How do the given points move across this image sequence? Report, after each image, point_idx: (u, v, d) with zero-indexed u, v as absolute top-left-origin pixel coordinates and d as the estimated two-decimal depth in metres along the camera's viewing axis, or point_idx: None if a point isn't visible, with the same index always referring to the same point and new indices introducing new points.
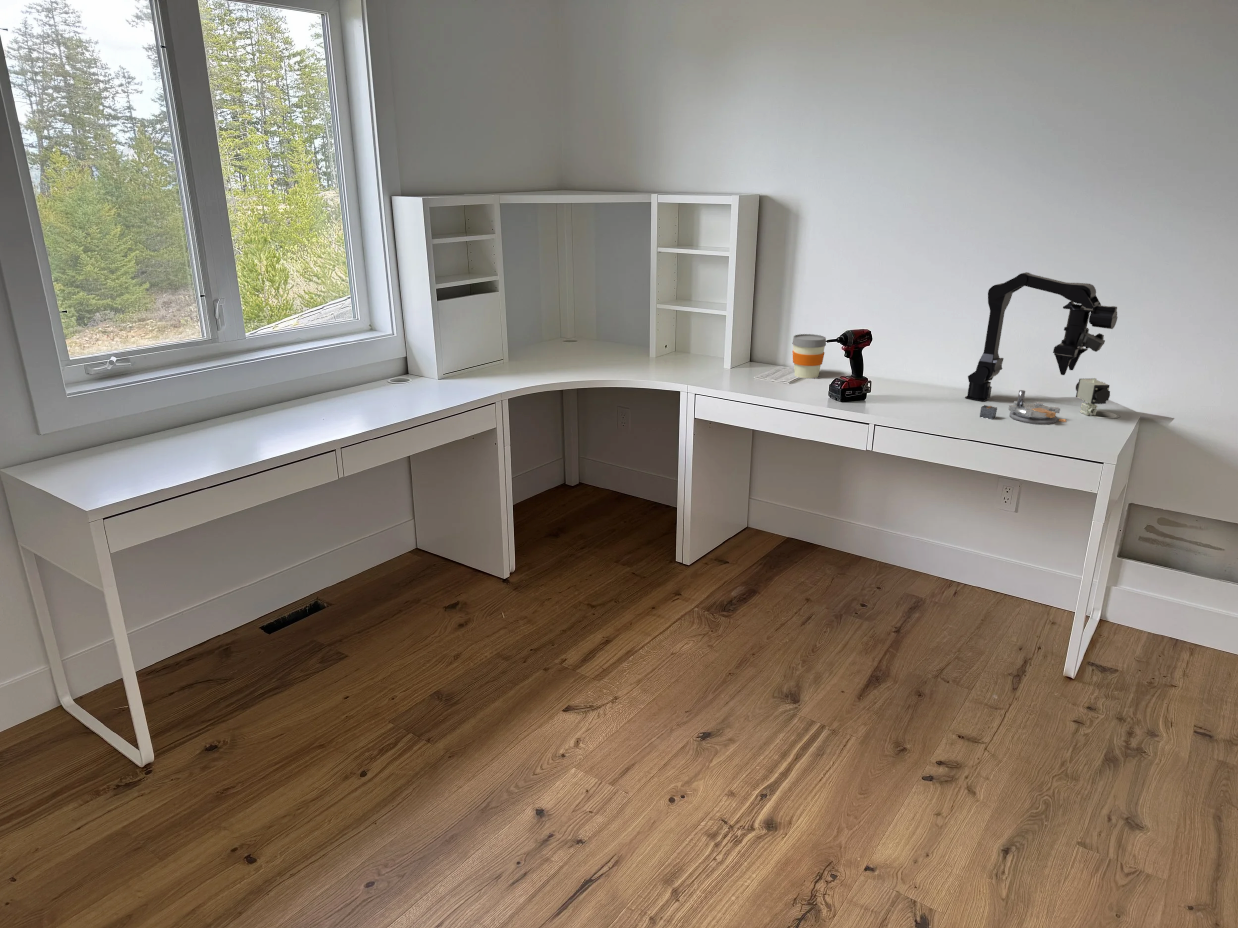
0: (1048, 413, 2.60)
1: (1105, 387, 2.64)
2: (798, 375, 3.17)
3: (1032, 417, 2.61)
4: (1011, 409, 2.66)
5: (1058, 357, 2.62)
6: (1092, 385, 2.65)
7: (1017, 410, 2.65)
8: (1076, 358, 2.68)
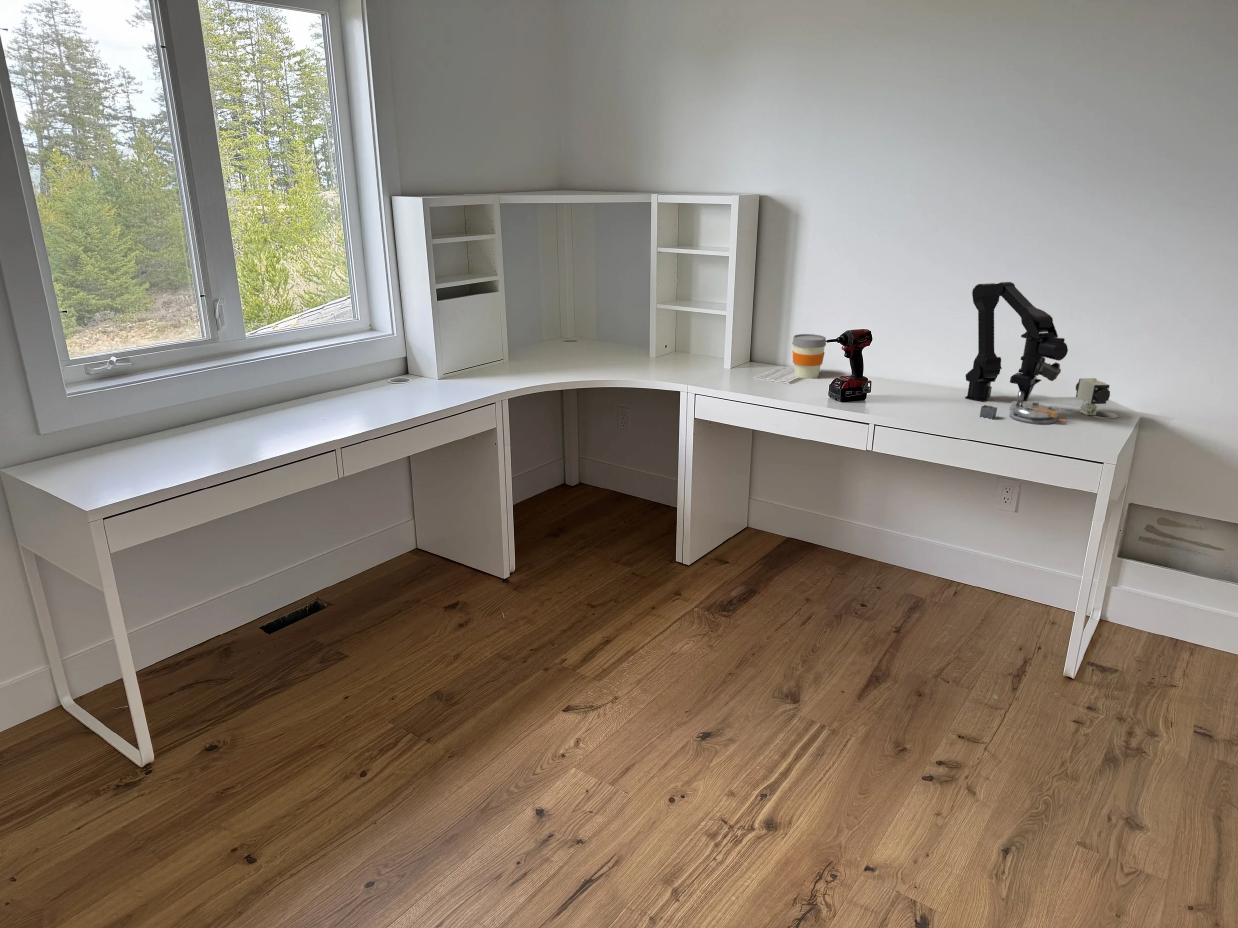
0: (1051, 413, 2.60)
1: (1105, 387, 2.64)
2: (798, 375, 3.17)
3: (1035, 417, 2.61)
4: (1013, 410, 2.65)
5: (1020, 384, 2.67)
6: (1092, 385, 2.65)
7: (1019, 411, 2.64)
8: None
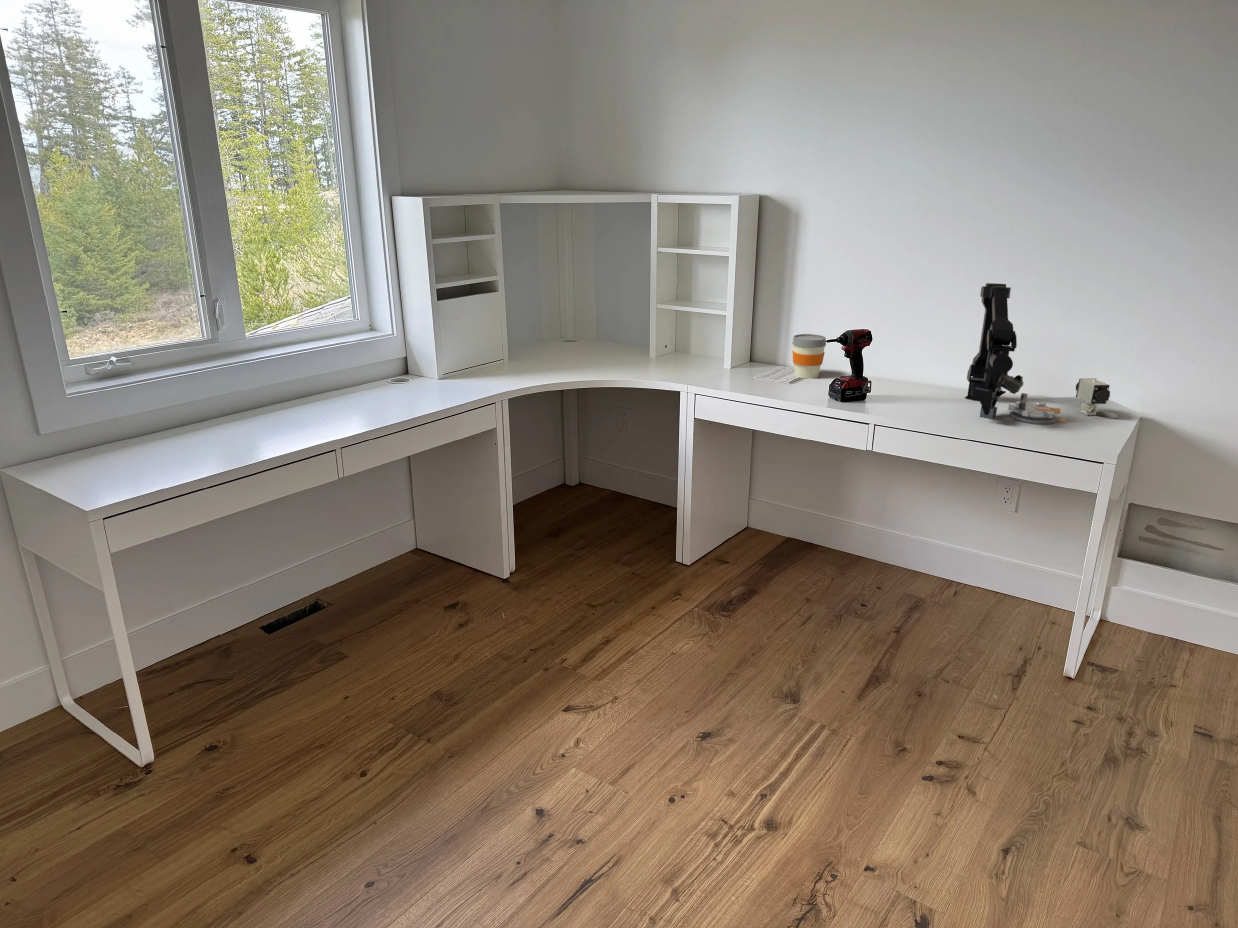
0: (1056, 410, 2.63)
1: (1105, 387, 2.64)
2: (798, 375, 3.17)
3: (1049, 417, 2.61)
4: (1028, 414, 2.61)
5: (981, 397, 2.64)
6: (1092, 385, 2.65)
7: (1033, 414, 2.61)
8: (994, 401, 2.67)
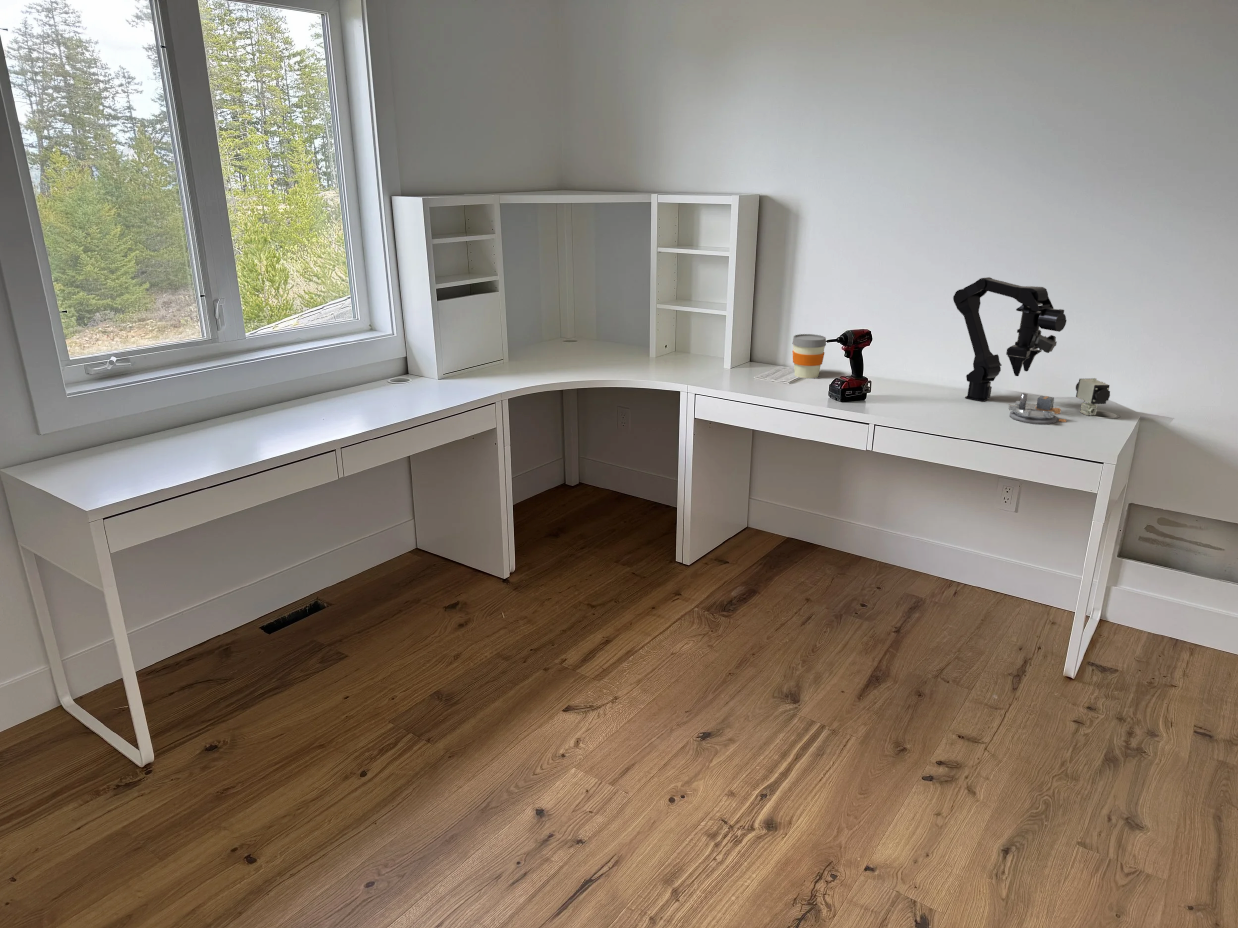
0: (1056, 410, 2.63)
1: (1105, 387, 2.64)
2: (798, 375, 3.17)
3: (1049, 417, 2.61)
4: (1028, 414, 2.61)
5: (1011, 358, 2.68)
6: (1092, 385, 2.65)
7: (1033, 414, 2.61)
8: (1030, 359, 2.75)
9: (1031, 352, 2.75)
